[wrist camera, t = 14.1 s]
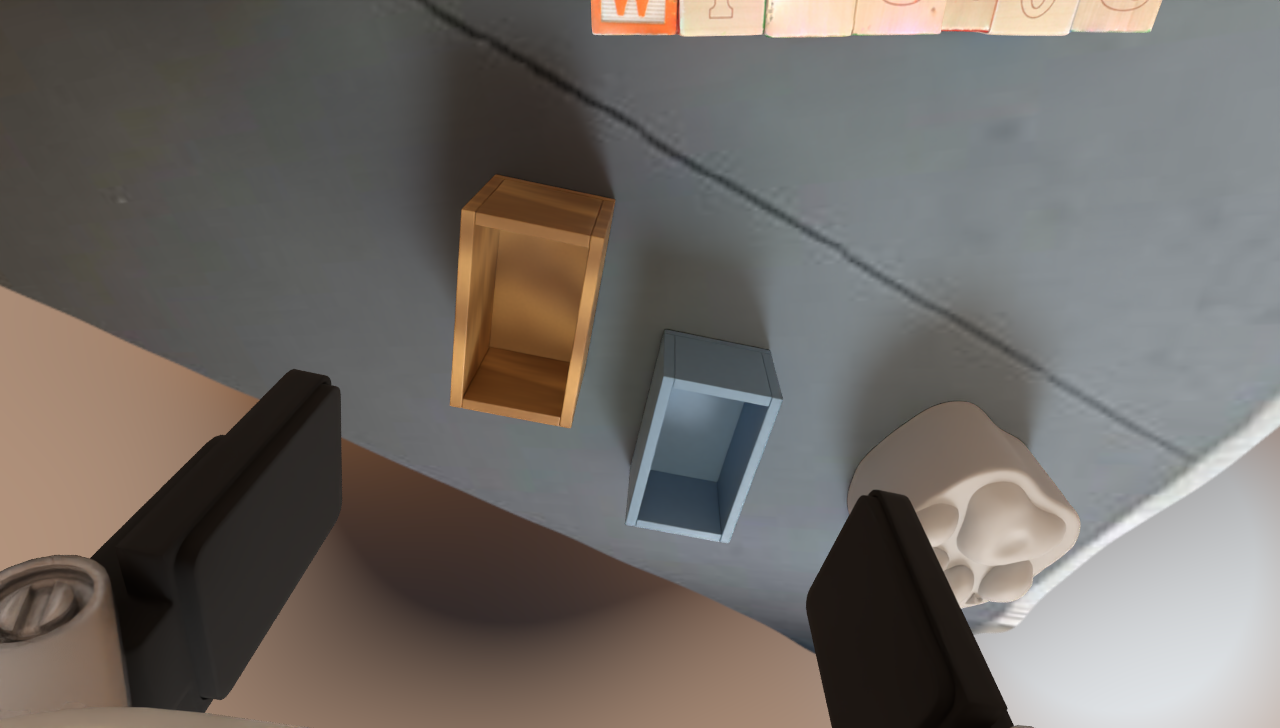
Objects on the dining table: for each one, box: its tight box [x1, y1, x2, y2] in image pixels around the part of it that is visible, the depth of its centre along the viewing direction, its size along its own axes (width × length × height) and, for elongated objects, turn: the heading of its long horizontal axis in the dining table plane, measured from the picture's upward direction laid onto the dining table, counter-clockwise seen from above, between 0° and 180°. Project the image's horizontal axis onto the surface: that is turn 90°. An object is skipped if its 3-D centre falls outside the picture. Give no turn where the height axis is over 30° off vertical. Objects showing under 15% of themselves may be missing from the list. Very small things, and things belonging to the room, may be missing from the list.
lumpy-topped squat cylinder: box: [847, 401, 1080, 608], centre depth 44 cm, size 10×13×9 cm
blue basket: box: [625, 329, 783, 543], centre depth 43 cm, size 12×7×6 cm, turn 169°
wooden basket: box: [450, 175, 615, 428], centre depth 38 cm, size 12×7×7 cm, turn 169°
